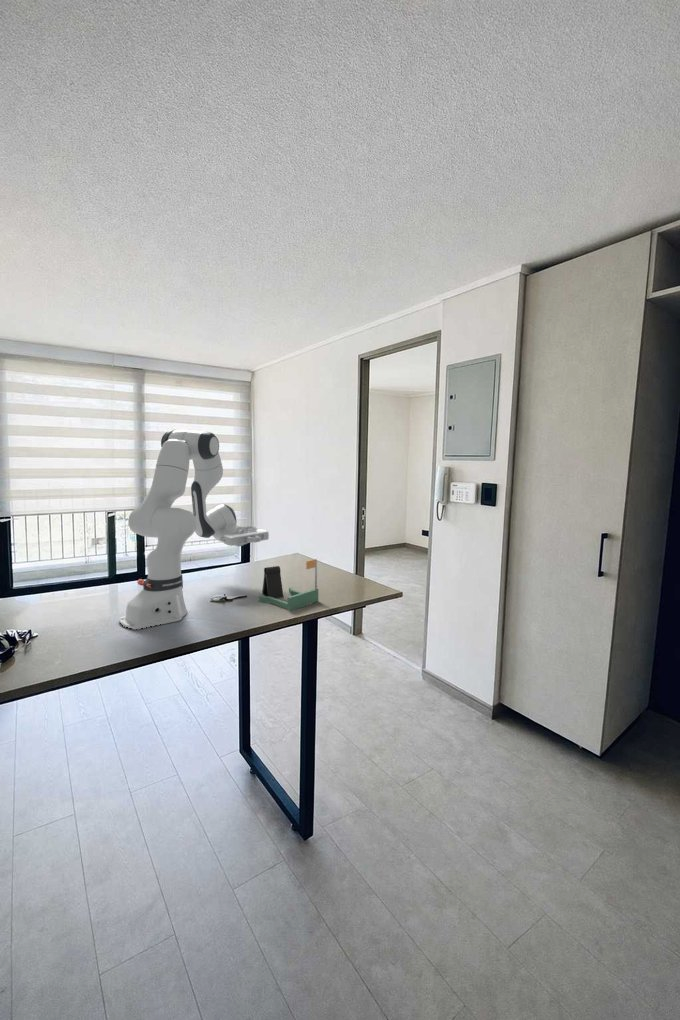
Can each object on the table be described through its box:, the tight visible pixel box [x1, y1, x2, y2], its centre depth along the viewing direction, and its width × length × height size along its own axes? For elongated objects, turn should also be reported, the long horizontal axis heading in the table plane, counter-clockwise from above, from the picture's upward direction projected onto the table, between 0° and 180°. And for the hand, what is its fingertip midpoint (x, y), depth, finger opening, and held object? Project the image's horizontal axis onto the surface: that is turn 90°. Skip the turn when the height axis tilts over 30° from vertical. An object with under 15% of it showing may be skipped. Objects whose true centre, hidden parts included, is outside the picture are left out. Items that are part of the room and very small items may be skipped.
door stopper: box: [261, 565, 284, 599], centre depth 182 cm, size 9×6×12 cm, turn 28°
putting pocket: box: [258, 558, 319, 612], centre depth 175 cm, size 17×18×17 cm
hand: (257, 540), depth 186 cm, fingers closed
